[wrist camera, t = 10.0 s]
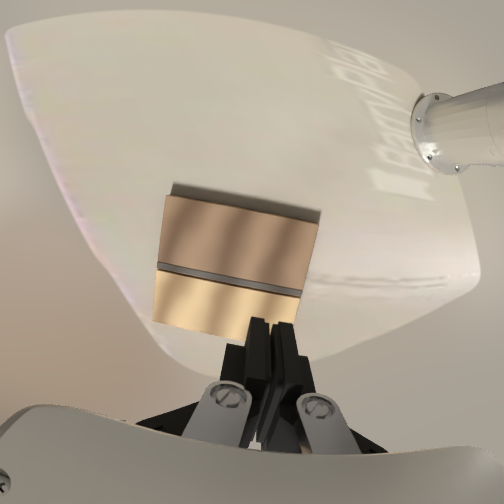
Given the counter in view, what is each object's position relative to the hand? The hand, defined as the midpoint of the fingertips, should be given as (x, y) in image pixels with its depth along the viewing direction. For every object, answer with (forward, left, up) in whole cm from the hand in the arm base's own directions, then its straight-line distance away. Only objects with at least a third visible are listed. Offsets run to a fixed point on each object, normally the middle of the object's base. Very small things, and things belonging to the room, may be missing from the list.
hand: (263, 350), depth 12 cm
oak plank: (+3, +12, -29) cm, 32 cm away
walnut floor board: (+3, +3, -29) cm, 29 cm away
